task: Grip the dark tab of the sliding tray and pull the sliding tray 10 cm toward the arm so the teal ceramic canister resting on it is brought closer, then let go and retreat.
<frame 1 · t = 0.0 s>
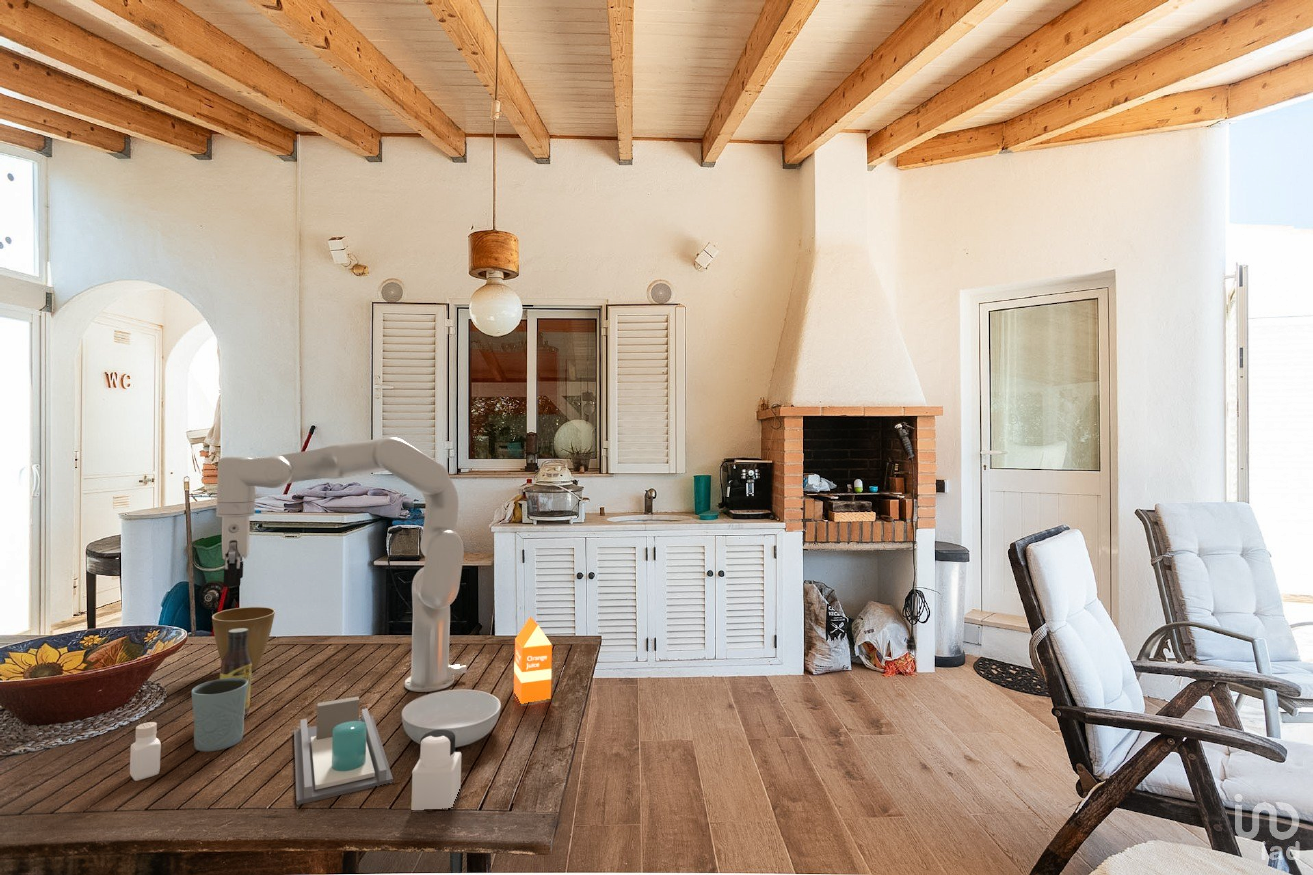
hand: (233, 582, 150), 31 cm above the table, fingers open, 9 cm apart
rail base: (339, 756, 131), on the table
sliding tray: (341, 738, 129), point 5 cm above the table, slide at 0.0 cm, touching canister
serving bowl: (451, 739, 141), on the table
sauce bottle: (234, 716, 150), on the table
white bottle: (436, 801, 116), on the table
plant pot: (242, 670, 179), on the table
grey-blue cup: (218, 742, 136), on the table
pepper shaker: (144, 776, 122), on the table
orange juice: (532, 699, 163), on the table
canister: (348, 763, 125), point 2 cm above the table, touching sliding tray
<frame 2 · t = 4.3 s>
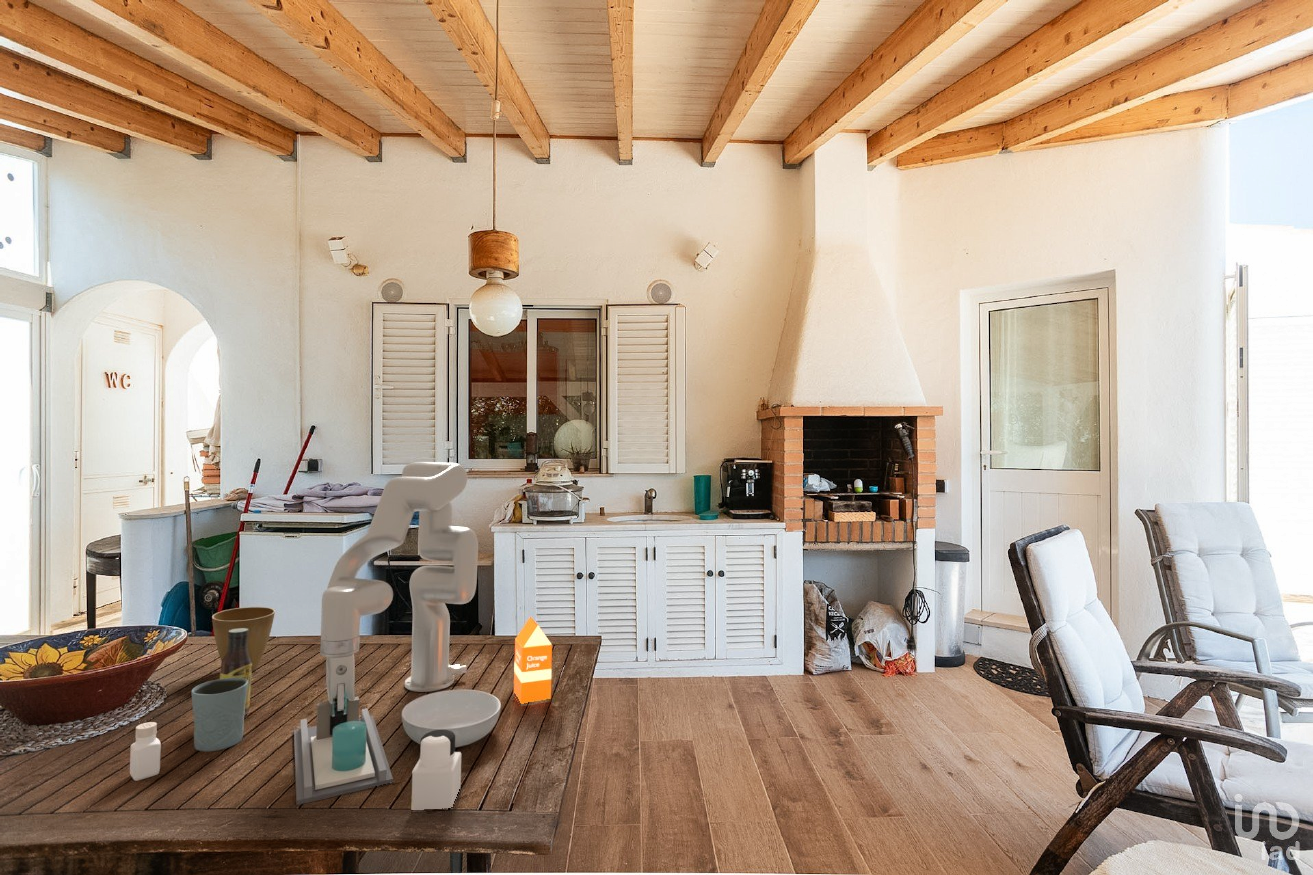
hand: (337, 729, 137), 3 cm above the table, fingers closed on sliding tray, 2 cm apart
sliding tray: (341, 738, 129), point 5 cm above the table, slide at 0.0 cm, touching canister, gripper
everything else where it was.
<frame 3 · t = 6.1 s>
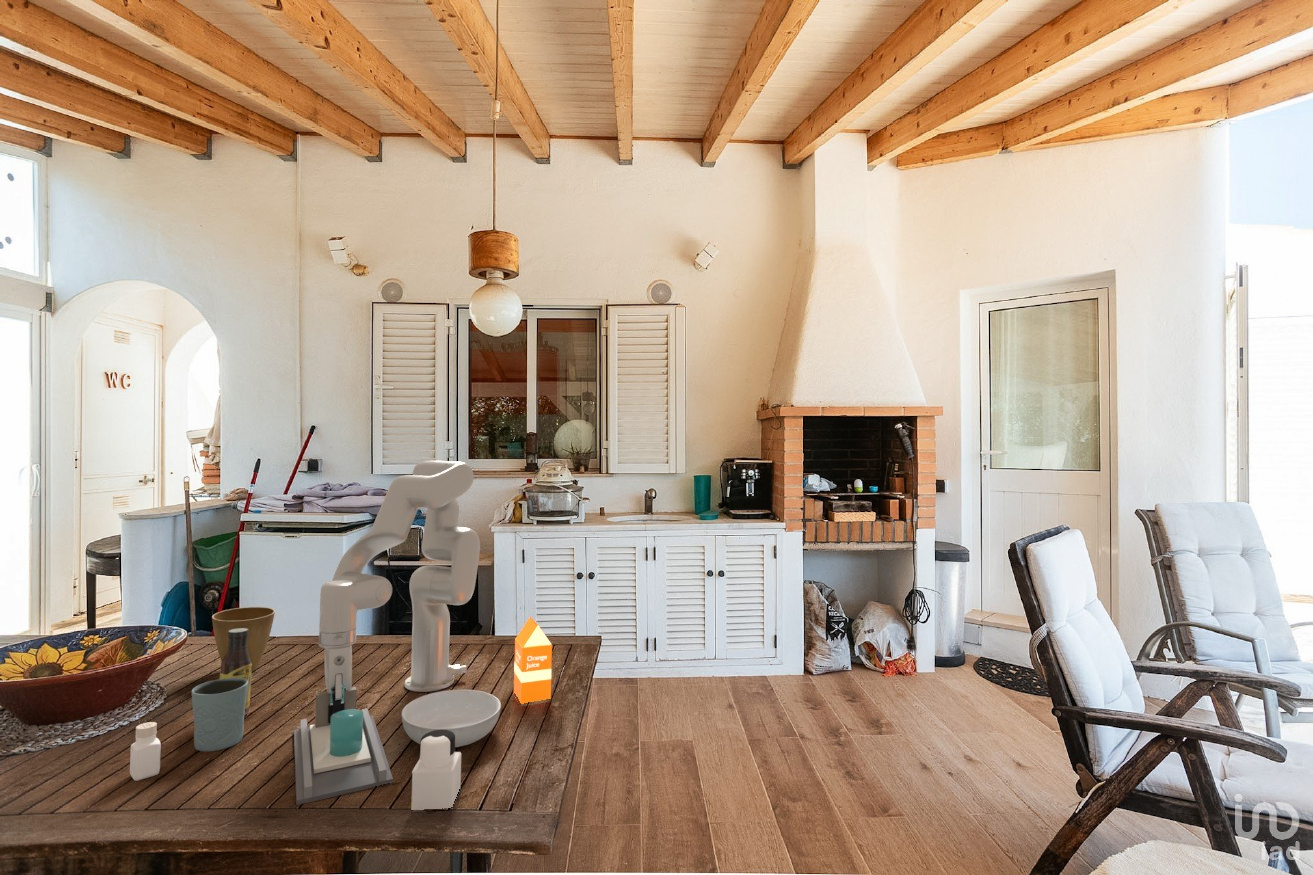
hand: (335, 718, 143), 3 cm above the table, fingers closed on sliding tray, 2 cm apart
sliding tray: (339, 725, 134), point 5 cm above the table, slide at 6.5 cm, touching canister, gripper
canister: (346, 749, 130), point 2 cm above the table, touching sliding tray
everything else where it was.
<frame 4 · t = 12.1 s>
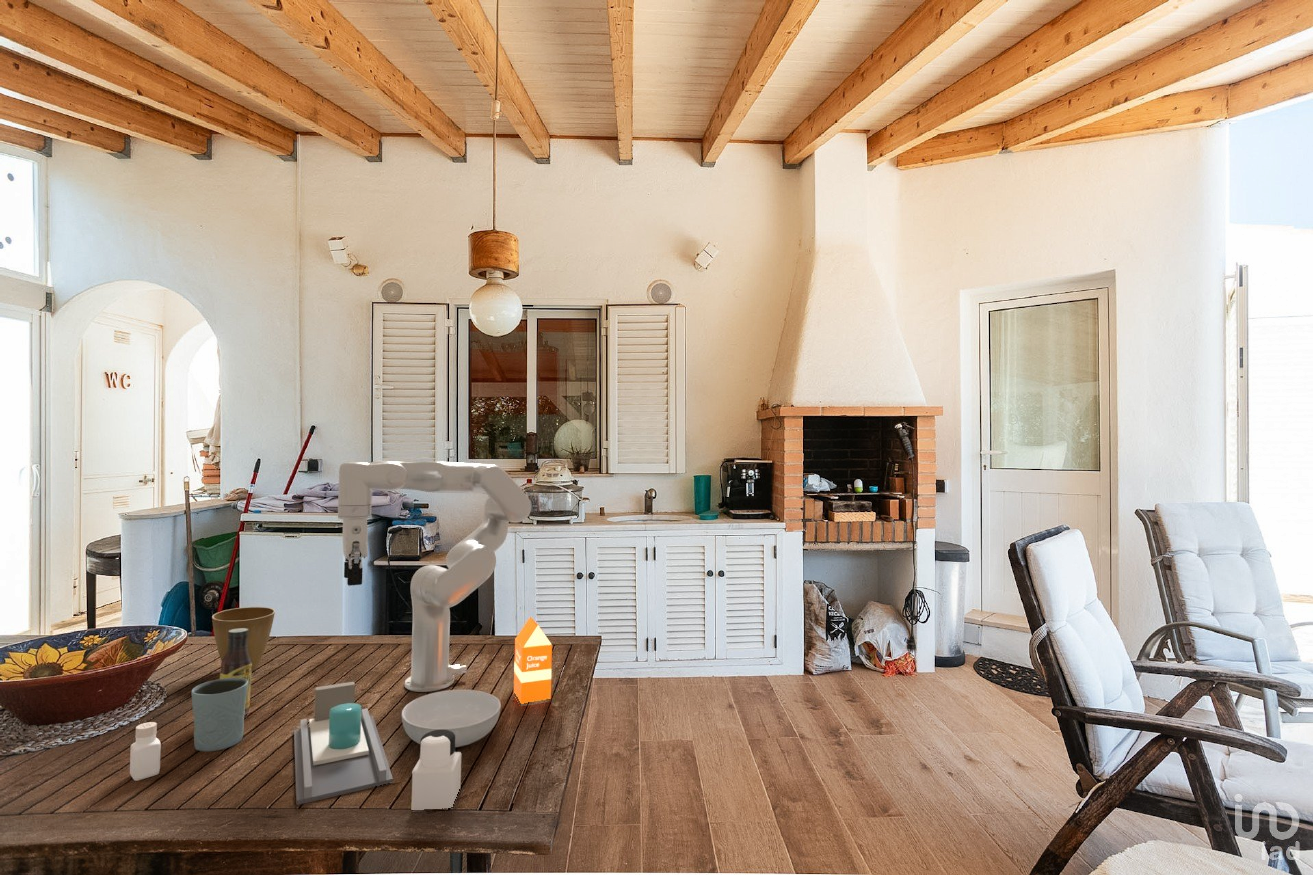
hand: (352, 580, 158), 30 cm above the table, fingers open, 9 cm apart
sliding tray: (337, 719, 137), point 5 cm above the table, slide at 10.0 cm, touching canister
canister: (344, 742, 133), point 2 cm above the table, touching sliding tray
everything else where it was.
at the end: sliding tray slide at 10.0 cm; canister inside the target area (1.0 cm from its centre), point 1.8 cm above the table; canister tilted 0° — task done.
